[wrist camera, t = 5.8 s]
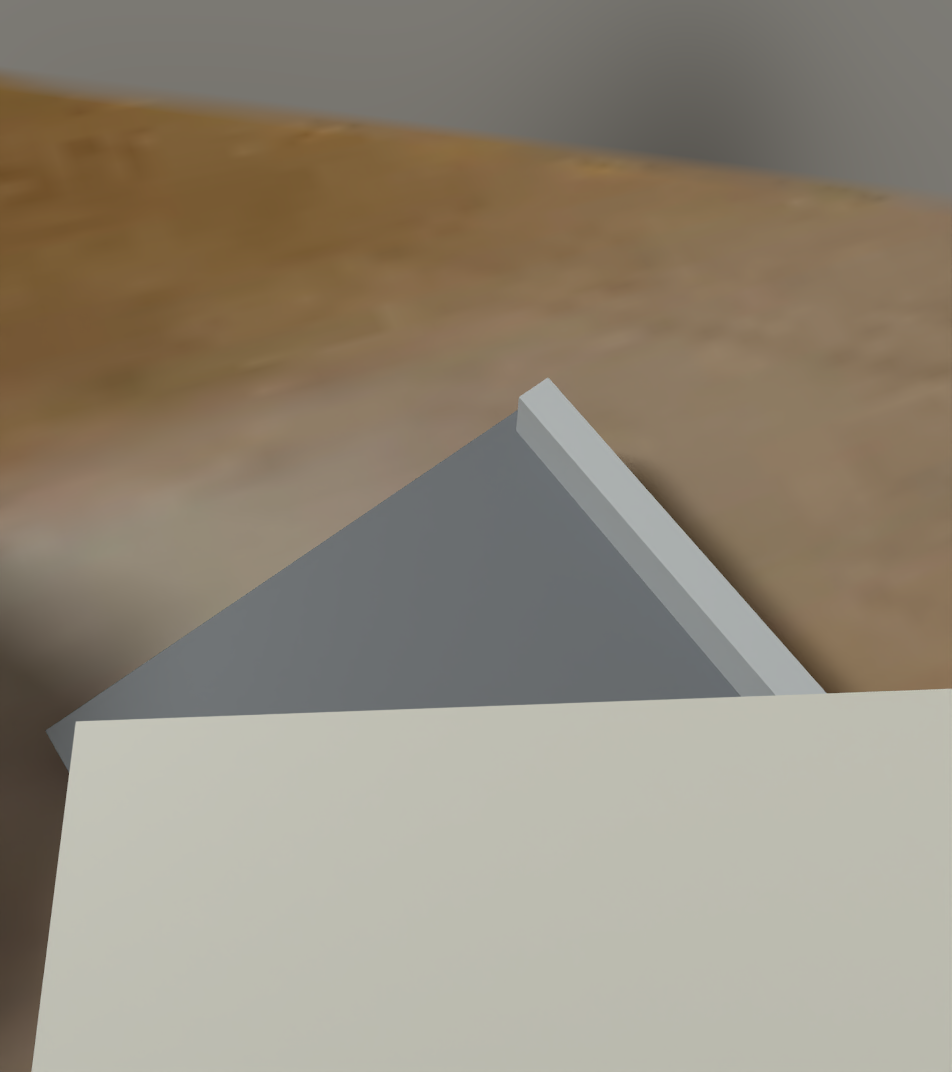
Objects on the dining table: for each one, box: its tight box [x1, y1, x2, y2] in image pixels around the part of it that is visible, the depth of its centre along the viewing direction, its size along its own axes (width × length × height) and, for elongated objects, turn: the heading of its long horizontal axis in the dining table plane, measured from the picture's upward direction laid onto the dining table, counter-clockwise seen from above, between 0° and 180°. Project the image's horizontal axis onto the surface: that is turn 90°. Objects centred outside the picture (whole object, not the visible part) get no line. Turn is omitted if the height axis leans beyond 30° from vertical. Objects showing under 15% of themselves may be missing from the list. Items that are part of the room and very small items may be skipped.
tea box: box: [32, 689, 952, 1072], centre depth 9 cm, size 6×5×13 cm
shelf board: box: [46, 378, 827, 772], centre depth 20 cm, size 22×16×4 cm
